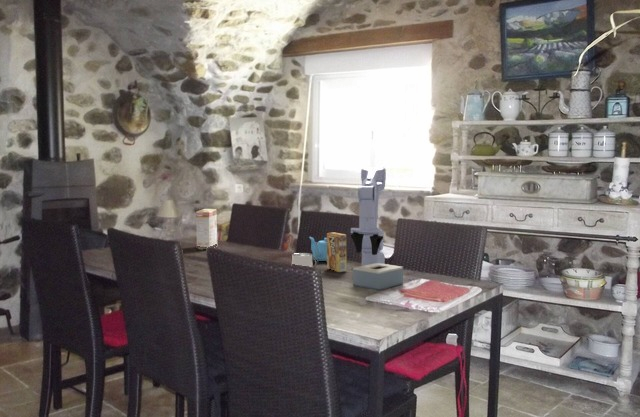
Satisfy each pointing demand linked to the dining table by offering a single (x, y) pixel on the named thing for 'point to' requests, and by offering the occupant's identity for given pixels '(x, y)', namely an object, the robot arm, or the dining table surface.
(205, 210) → the coffeecake box
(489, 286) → the dining table surface
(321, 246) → the teapot
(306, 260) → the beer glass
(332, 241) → the candy box
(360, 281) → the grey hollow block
